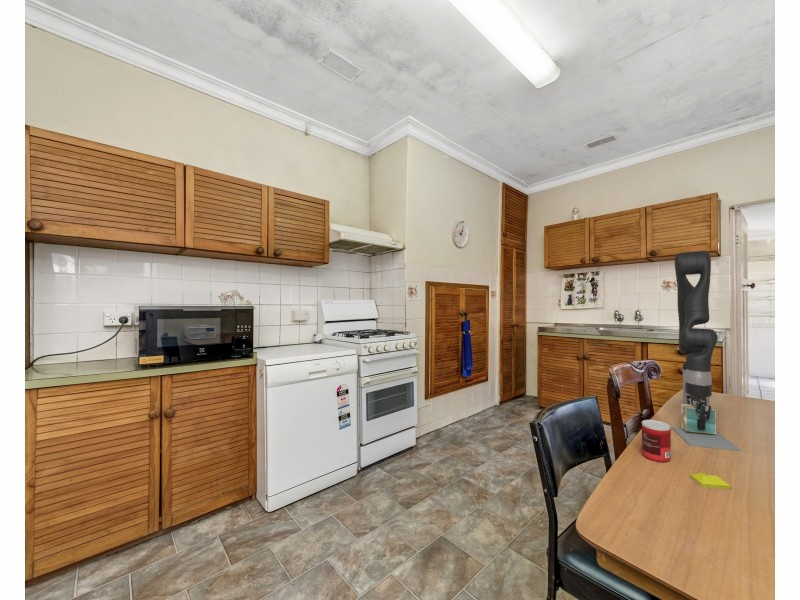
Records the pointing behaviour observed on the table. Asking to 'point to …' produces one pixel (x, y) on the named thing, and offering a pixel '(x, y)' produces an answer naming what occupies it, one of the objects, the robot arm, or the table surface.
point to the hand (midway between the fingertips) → (698, 427)
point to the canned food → (656, 441)
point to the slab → (691, 420)
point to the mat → (705, 439)
